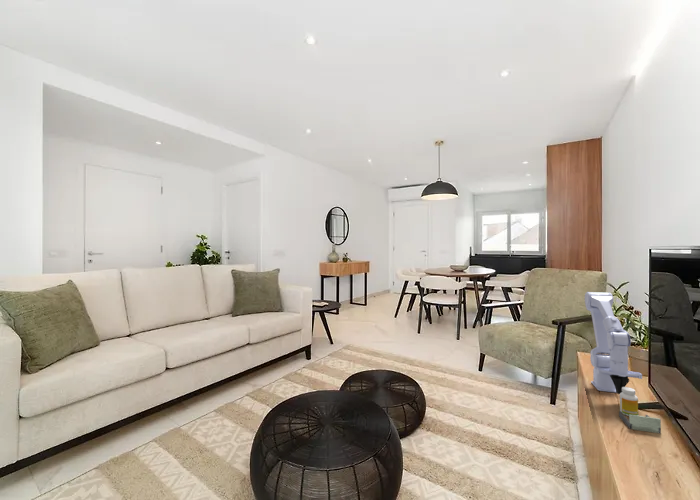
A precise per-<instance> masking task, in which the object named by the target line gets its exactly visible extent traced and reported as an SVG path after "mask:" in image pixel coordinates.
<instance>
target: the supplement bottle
mask: <svg viewBox="0 0 700 500" xmlns="http://www.w3.org/2000/svg"><path fill="white" fill-rule="evenodd" d="M619 411H621V412H622V413H623V414H624V415H625V416H626V417H629V414H630V415H638V416H639V397H638V396H637V395H636V390H635V389H634V388H632V387H629V386H628V387H627V386H625V387H622V392H621V393H620V394H619Z"/></svg>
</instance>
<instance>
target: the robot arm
mask: <svg viewBox="0 0 700 500" xmlns="http://www.w3.org/2000/svg"><path fill="white" fill-rule="evenodd" d="M584 304H585V308H586V310H587V311H589V312H590V315H591V320H592V325H593V331H594V332H593V333H594V338H595V344H596V346H595V347H594V348H592V349H591V350H590V363H591V366H593V369H592V370H593V376H592V377H593V380H591V381H590V382H591V384H592V385H593V386H594V387H595V389H596V390H597V391H599V392H600V391H601V392H609V393H617V394H618V395H620V393H621V392H622V387H627V384H628V383H629V382H630V379H629V378H634V379H639V380H643V374H642V373H641V372H638V371H633V370H629V354H628V353H629V349H628V348H629V347H630V346H631V343H632V340H631V336H630V334H629V332H628V331H627V330H626V329H624V328H623V326H622V324H621V321H620V319H619V318H617V317H615V315H614V311H613V309H612V307H613V304H614V296H613V294H612V293H611V292H610V291H609V292H604V291H603V292H599V291H598V292H594V291H586V292H585V293H584Z"/></svg>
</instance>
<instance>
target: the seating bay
mask: <svg viewBox="0 0 700 500" xmlns="http://www.w3.org/2000/svg"><path fill="white" fill-rule="evenodd" d="M618 417H619V418H620V419H621V421H623V423H624V424H625V425H626V426H627V428H628V429H630V430H634V431H642V432H646V433H647V432H649V433H655V434H662V431H661V429H662V424H661V423H662V421H661V418H658V417H651V416H649V415H648V414H645V415H639V414H638V415H630V414H629V416H628V418H627V415H624V414H623V413H622V412H621V411H620V410H619V411H618Z"/></svg>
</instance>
